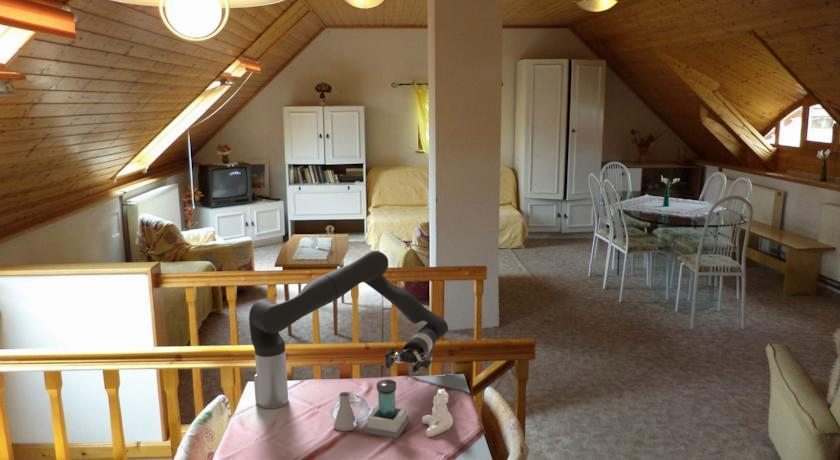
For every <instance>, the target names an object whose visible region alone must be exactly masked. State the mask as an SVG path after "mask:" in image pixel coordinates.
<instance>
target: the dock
mask: <svg viewBox="0 0 840 460" xmlns="http://www.w3.org/2000/svg"><path fill="white" fill-rule="evenodd" d="M407 411H408V410H407V407H403V406H397V405H395V418H394V420H392V419H386V418H380V417H379V403H378V404H377V405H376V406H375V408H374V409H372V411H371V412H370V414H369V415H368V416H367V417H366V418H367V419H366V422H367V424H366V426H365V427H364V433H365V434H370V435H377V436H383V437H387V438H394V439H398V438H399V437H400V435H401V434H402V433H403V431H404V429H406V426H407V425H408V424H409V422H410V416H408V413H407Z"/></svg>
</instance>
